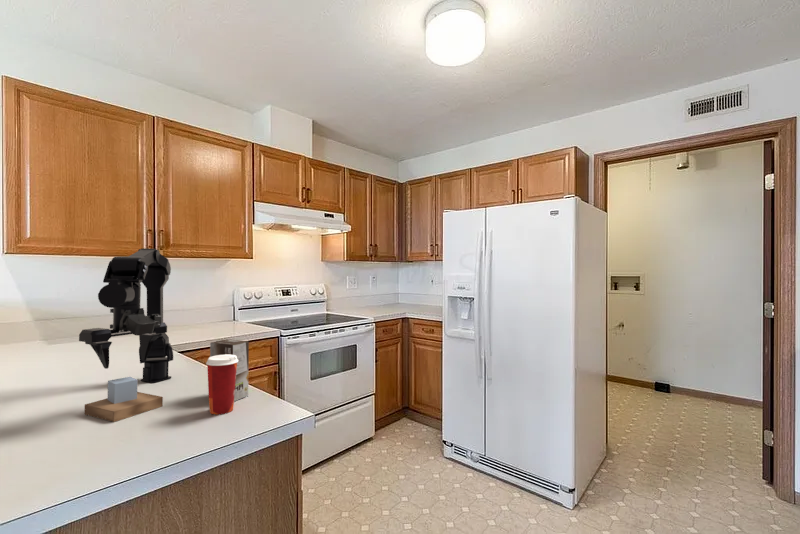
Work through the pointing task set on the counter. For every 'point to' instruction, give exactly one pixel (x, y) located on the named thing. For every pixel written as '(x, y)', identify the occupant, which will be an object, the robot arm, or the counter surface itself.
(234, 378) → the paper cup
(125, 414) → the base
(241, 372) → the coffee box
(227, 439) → the counter surface
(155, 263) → the robot arm
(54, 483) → the counter surface
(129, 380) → the block
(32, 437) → the counter surface
